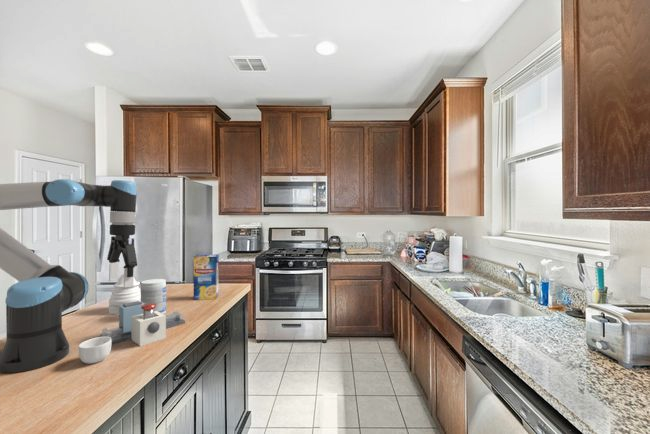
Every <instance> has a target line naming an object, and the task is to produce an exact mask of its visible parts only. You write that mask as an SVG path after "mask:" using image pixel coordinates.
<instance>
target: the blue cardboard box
mask: <svg viewBox="0 0 650 434" xmlns="http://www.w3.org/2000/svg"><path fill="white" fill-rule="evenodd" d="M219 258H220V257H219V254H196V255H195V256H193V300H194V301H203V300H205V299H207V300H217V298H218V297H219V281H220V279H219V270H220V269H219V265H220V263H219V262H220V261H219V260H220V259H219Z"/></svg>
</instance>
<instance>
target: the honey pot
mask: <svg viewBox="0 0 650 434" xmlns="http://www.w3.org/2000/svg"><path fill="white" fill-rule="evenodd" d="M116 281H117V282H116V283H114V285H113V289H112V291H111V295H110V298H109V299H108V313H109V314H111V315H119V306H122V305H123V304H126V303H131V302H136V301H140V302H141V287H140V286H139V285H141V282H140V281H137V280H136V278H134V284H133V286H129V287H124V273H123V274H122V275H121V276H120V277H118V280H116Z"/></svg>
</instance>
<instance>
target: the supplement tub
mask: <svg viewBox="0 0 650 434" xmlns="http://www.w3.org/2000/svg"><path fill="white" fill-rule="evenodd" d="M140 291H141V302H143V303H145V304H149V303H155V304H156V307H155V308H154V311H158V312H160V313H162V314H164V315H165V314H166V312H167V281H166V279H165V278H153V279H147V280H141V282H140Z"/></svg>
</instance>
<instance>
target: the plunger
mask: <svg viewBox="0 0 650 434" xmlns="http://www.w3.org/2000/svg"><path fill="white" fill-rule="evenodd" d="M155 307H156V304H155V303H149V304H144V305H142V306H141V309H143V320H144V319H148V318H152V317H154V308H155Z"/></svg>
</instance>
